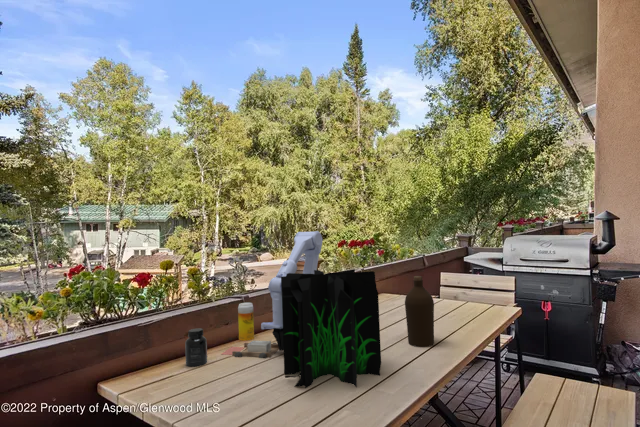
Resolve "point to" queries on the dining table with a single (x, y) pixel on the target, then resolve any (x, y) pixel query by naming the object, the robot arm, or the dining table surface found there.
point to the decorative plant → (330, 325)
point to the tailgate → (230, 350)
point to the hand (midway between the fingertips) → (281, 349)
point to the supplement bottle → (196, 348)
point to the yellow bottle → (246, 321)
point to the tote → (259, 346)
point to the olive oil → (419, 315)
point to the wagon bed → (256, 354)
